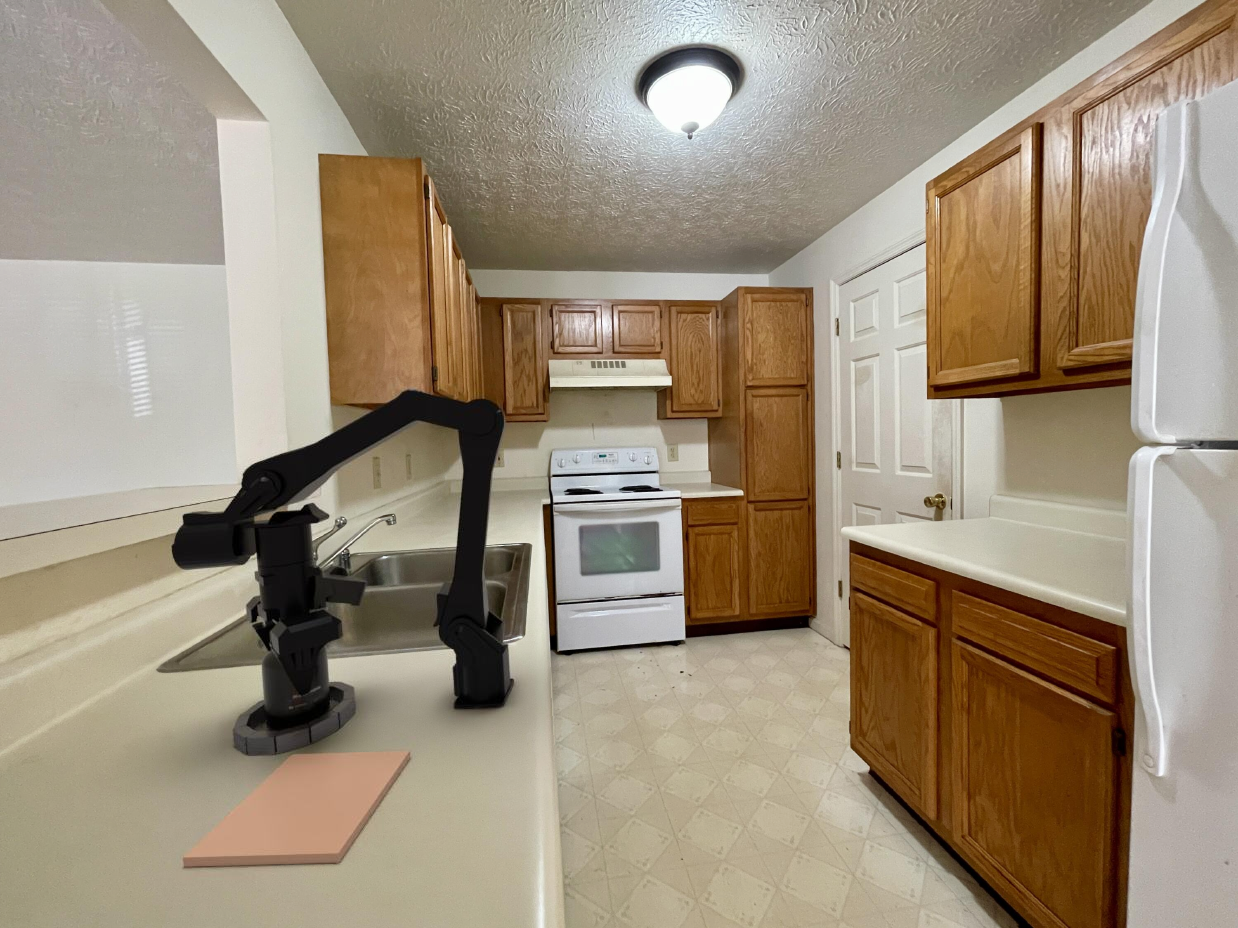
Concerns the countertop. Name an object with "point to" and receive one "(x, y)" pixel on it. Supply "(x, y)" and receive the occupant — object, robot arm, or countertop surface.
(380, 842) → the countertop surface
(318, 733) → the collar
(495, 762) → the countertop surface
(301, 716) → the supplement bottle
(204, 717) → the countertop surface
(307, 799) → the tile
